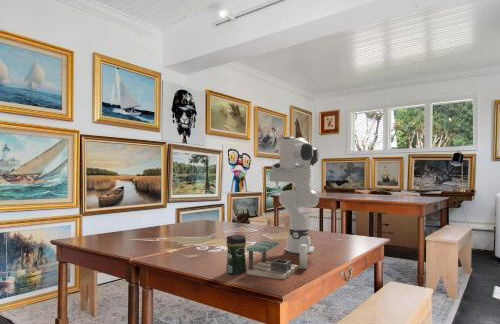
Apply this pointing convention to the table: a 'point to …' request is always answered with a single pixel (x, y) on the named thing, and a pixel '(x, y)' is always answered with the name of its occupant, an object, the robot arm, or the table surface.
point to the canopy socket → (266, 268)
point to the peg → (303, 256)
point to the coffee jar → (236, 254)
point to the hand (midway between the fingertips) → (287, 190)
